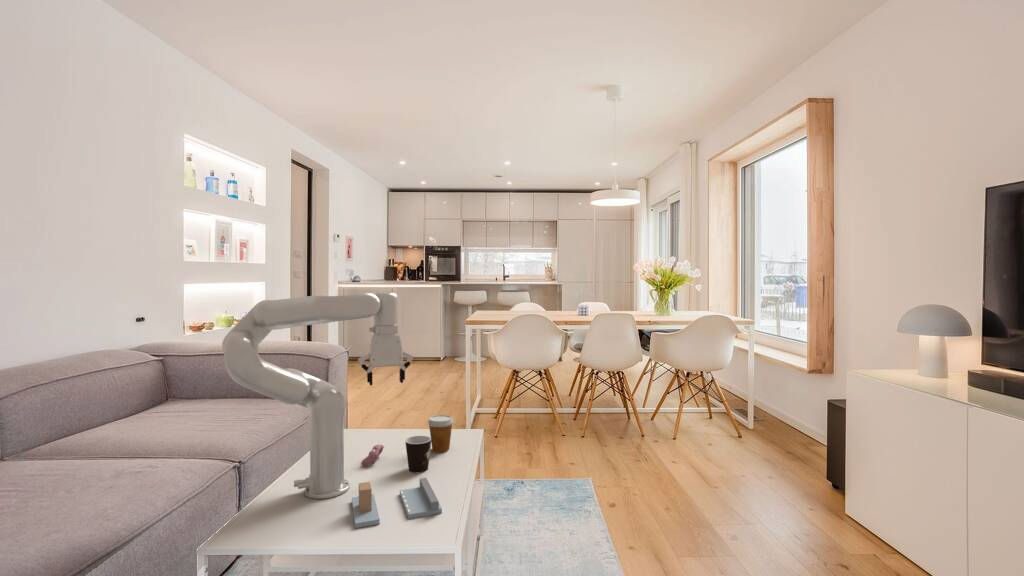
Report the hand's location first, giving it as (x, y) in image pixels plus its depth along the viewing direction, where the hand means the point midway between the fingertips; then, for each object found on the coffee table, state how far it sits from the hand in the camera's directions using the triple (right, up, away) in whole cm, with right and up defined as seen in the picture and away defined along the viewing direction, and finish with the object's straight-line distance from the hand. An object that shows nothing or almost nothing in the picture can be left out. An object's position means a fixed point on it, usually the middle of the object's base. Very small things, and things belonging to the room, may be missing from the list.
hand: (386, 383), depth 155 cm
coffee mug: (+10, -30, +7) cm, 33 cm away
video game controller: (-8, -31, +13) cm, 34 cm away
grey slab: (+1, -31, -24) cm, 39 cm away
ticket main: (+14, -31, -19) cm, 39 cm away
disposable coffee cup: (+14, -30, +25) cm, 42 cm away
